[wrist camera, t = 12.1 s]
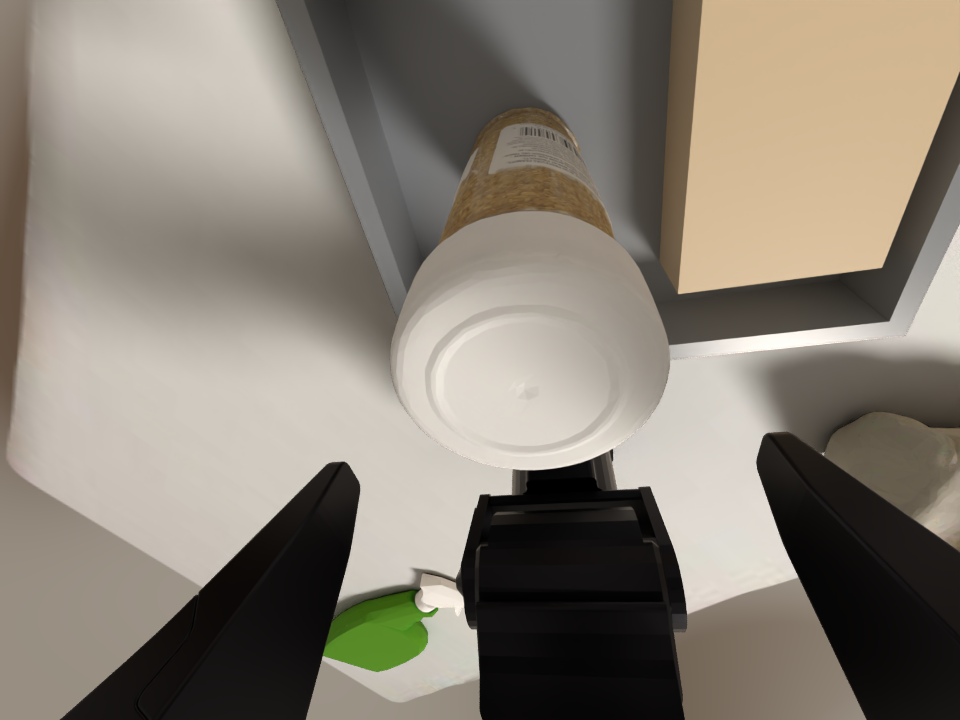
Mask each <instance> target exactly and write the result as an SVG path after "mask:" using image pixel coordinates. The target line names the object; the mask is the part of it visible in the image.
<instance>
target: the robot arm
mask: <svg viewBox="0 0 960 720" xmlns="http://www.w3.org/2000/svg"><path fill="white" fill-rule="evenodd" d="M612 461H613V449H611V450H610V451H608V452H606V453H603V454H601V455H599V456H597V457H595V458H592V459H590V460H587V461H584V462H581V463H577V464H574V465H570V466H565V467H560V468H553V469H544V470H517V469H513V475H512V495H499V496H491V495H490V494H484V495H480V497H479V501H478V505H477V508H475V510H474V514H473V518H472V522H471V526H470V530H469V534H468V538H467V542H466V546H465V550H464V554H463V558H462V562H461V568H460V570H459V572H458V574H457V577H456V588H457V590H458V591H459V593H460V594H461V595H462V596H463V600H464V608H465V615H466V619H467V623H468V625H469V627H470V628H471V629H477V638H478V655H479V671H480V714H481V717H482V720H685V718H684V712H683V707H682V701H683V694H682V687H681V680H680V673H679V666H678V661H677V660H678V659H677V653H676V646H675V639H674V632H685V631H686V629H687V611H686V601H685V595H684V589H683V583H682V578H681V574H680V569H679V565H678V562H677V558H676V554H675V551H674V548H673V545H672V543H671V540H670V538H669V535H668V532H667V530H666V527H665V525H664V522H663V519H662V517H661V514H660V511H659V509H658V506H657V504H656V501H655V498H654V496H653V493H652V491H651V488H650V487H638V489H625V490H617V486H616V481H615V476H614V471H613V465H612ZM756 464H757V470H758V473H759V476H760V479H761V482H762V485H763V488H764V491H765V494H766V496H767V499H768V502H769V505H770V508H771V511H772V514H773V517H774V520H775V523H776V526H777V528H778V531H779V534H780V537H781V539H782V542H783V545H784V547H785V549H786V551H787V554H788V556H789V558H790V560H791V562H792V564H793V567H794V569H795V571H796V573H797V575H798V577H799V579H800V581H801V583H802V585H803V587H804V589H805V592H806V594H807V596H808V598H809V600H810V602H811V604H812V606H813V608H814V611H815V613H816V615H817V617H818V619H819V621H820V623H821V625H822V627H823V629H824V631H825V634H826V636H827V638H828V640H829V642H830V644H831V646H832V648H833V650H834V652H835V655H836V657H837V659H838V661H839V663H840V665H841V667H842V669H843V671H844V673H845V676H846V677H847V680H848V682H849V684H850V686H851V688H852V690H853V692H854V694H855V696H856V698H857V701H858V703H859V705H860V707H861V709H862V711H863V713H864V715H865V717H866V719H867V720H960V551H959V550H957V549H956V548H955V547H953V546H952V545H950V544H949V543H947V542H946V541H945V540H943V539H942V538H940V537H939V536H937V535H936V534H935V533H933V532H932V531H930V530H929V529H927V528H926V527H925V526H923V525H922V524H920V523H919V522H917V521H916V520H915V519H913V518H912V517H910V516H909V515H907V514H906V513H905V512H903V511H902V510H900V509H899V508H897V507H896V506H895V505H893V504H892V503H890V502H889V501H888V500H886V499H885V498H883V497H882V496H880V495H879V494H878V493H876V492H875V491H873V490H872V489H870V488H869V487H868V486H866V485H865V484H863V483H862V482H860V481H859V480H858V479H856V478H855V477H853V476H852V475H850V474H849V473H848V472H846V471H845V470H843V469H842V468H840V467H839V466H838V465H836V464H835V463H833V462H832V461H830V460H829V459H828V458H826V457H825V456H823V455H822V454H821V453H819V452H818V451H816V450H815V449H813V448H812V447H811V446H809V445H808V444H806V443H805V442H803V441H802V440H801V439H799V438H798V437H796V436H795V435H793V434H791V433H789V432H774V433H766V434H765V435H764V436H763V439H762V442H761V446H760V449H759V452H758V456H757V461H756ZM359 496H360V484H359V481H358V479H357V478H356V476H355V474H354V473H353V471H352V469H351V468H350V466H349V465H348V463H346V462H331V463H329V464H327V465H326V466H325V467H324V468H323V469H322V470H321V471H320V472H319V473H318V474H317V475H316V476H315V477H314V478H313V479H312V480H311V481H310V482H309V483H308V484H307V485H306V486H305V487H304V488H303V489H302V490H301V491H300V492H299V493H298V494H297V495H296V496H295V497H294V498H293V499H292V500H291V501H290V502H289V503H288V504H287V505H286V506H285V507H284V508H283V509H282V510H281V511H280V512H279V513H278V514H277V515H276V516H275V517H274V518H273V519H272V520H271V521H270V522H269V523H268V524H266V525H265V526H264V527H263V528H262V529H261V530H260V531H259V532H258V533H257V534H256V535H255V536H254V537H253V538H252V539H251V540H250V541H249V542H248V543H247V544H246V545H245V546H244V547H243V548H242V549H241V550H240V551H239V552H238V553H237V554H236V555H235V556H234V557H233V558H232V559H231V560H230V561H229V562H228V563H227V564H226V565H225V566H224V567H223V568H222V569H221V570H220V571H219V572H218V573H217V574H216V575H215V576H214V577H213V578H212V579H211V580H210V581H209V582H208V583H207V584H206V585H205V586H204V587H203V588H202V589H201V590H200V591H199V594H198V595H195V596H194V597H193V598H192V599H191V600H190V601H189V602H188V603H187V604H186V605H185V606H184V607H183V608H182V609H181V610H180V611H179V612H178V613H177V614H176V615H175V616H174V617H173V618H172V619H171V620H170V621H169V622H168V623H167V624H166V625H165V626H163V628H161V629H160V630H159V631H158V632H157V633H156V634H155V635H154V636H153V637H152V638H151V639H150V640H149V641H147V642H146V643H145V644H144V645H143V646H142V647H141V648H140V649H139V650H138V651H137V652H135V653H134V654H133V655H132V656H131V657H130V658H129V659H128V660H127V661H126V662H125V663H123V664H122V665H121V666H120V667H119V668H118V669H117V670H115V671H114V672H113V673H112V674H111V675H110V676H109V677H108V678H106V679H105V680H104V681H103V682H102V683H101V684H100V685H99V686H97V688H95V689H94V690H93V691H92V692H91V693H90V694H88V695H87V696H86V697H85V698H84V699H83V700H82V701H81V702H79V703H78V704H77V705H76V706H75V707H74V708H73V709H72V710H70V711H69V712H68V713H67V714H66V715H65V716H64V717H63V718H61V719H60V720H306V716H307V712H308V709H309V705H310V702H311V698H312V694H313V690H314V687H315V682H316V679H317V675H318V672H319V668H320V664H321V661H322V657H323V653H324V649H325V646H326V642H327V638H328V634H329V631H330V627H331V623H332V619H333V616H334V612H335V608H336V604H337V601H338V597H339V593H340V590H341V586H342V582H343V578H344V575H345V571H346V567H347V563H348V559H349V555H350V550H351V545H352V539H353V533H354V527H355V521H356V514H357V508H358V502H359Z"/></svg>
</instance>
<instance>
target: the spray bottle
mask: <svg viewBox="0 0 960 720" xmlns="http://www.w3.org/2000/svg"><path fill="white" fill-rule="evenodd" d="M420 588H421V590H420V591H417V590H411V591H407V592H402V593H397V594H392V595H387V596H384V597H381V598H377V599H371V600H367V601H364V602H362V603H360V604H357V605H355V606H353V607H351V608H349V609H348V610H346V611H344V612H342V613H341V614H340V615H339V616H338V617H336V618H335V619H334V620H333V621H332V623H331V627H330V631H329V634H328V638H327V642H326V646H325V649H324V653H323V656H325V657H328V658H332V659H335V660H338V661H341V662H345V663H348V664H351V665H355V666H358V667H361V668H364V669H368V670H371V671H376V672H379V671H384V670H388V669H391V668H393V667H396V666H398V665H400V664H403V663H405V662H407V661H409V660H410V659H412V658H414V657H416V656H417V655H419V654H420V653H421V652H422V651H423V650H424V649H425V647H426V645H427V643H428V632H427V630H426V628H425V626H424V625H423V624H422V623H421V622H420V621H421V619H422V618H423V617H432V616H433V615H434V614H435V613H436V612H437V611H438V608H446V607H455V613H456V616H459V613H460V611H461V609H462V607H464V600H463V596H462V595H461V594H460V593H459V591H458V590H457V588H456V583H455V582H452V581H450V580H447V579H444V578H442V577H438V576H433V575H429V574H425V573H423V574H422V578H421V583H420Z"/></svg>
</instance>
